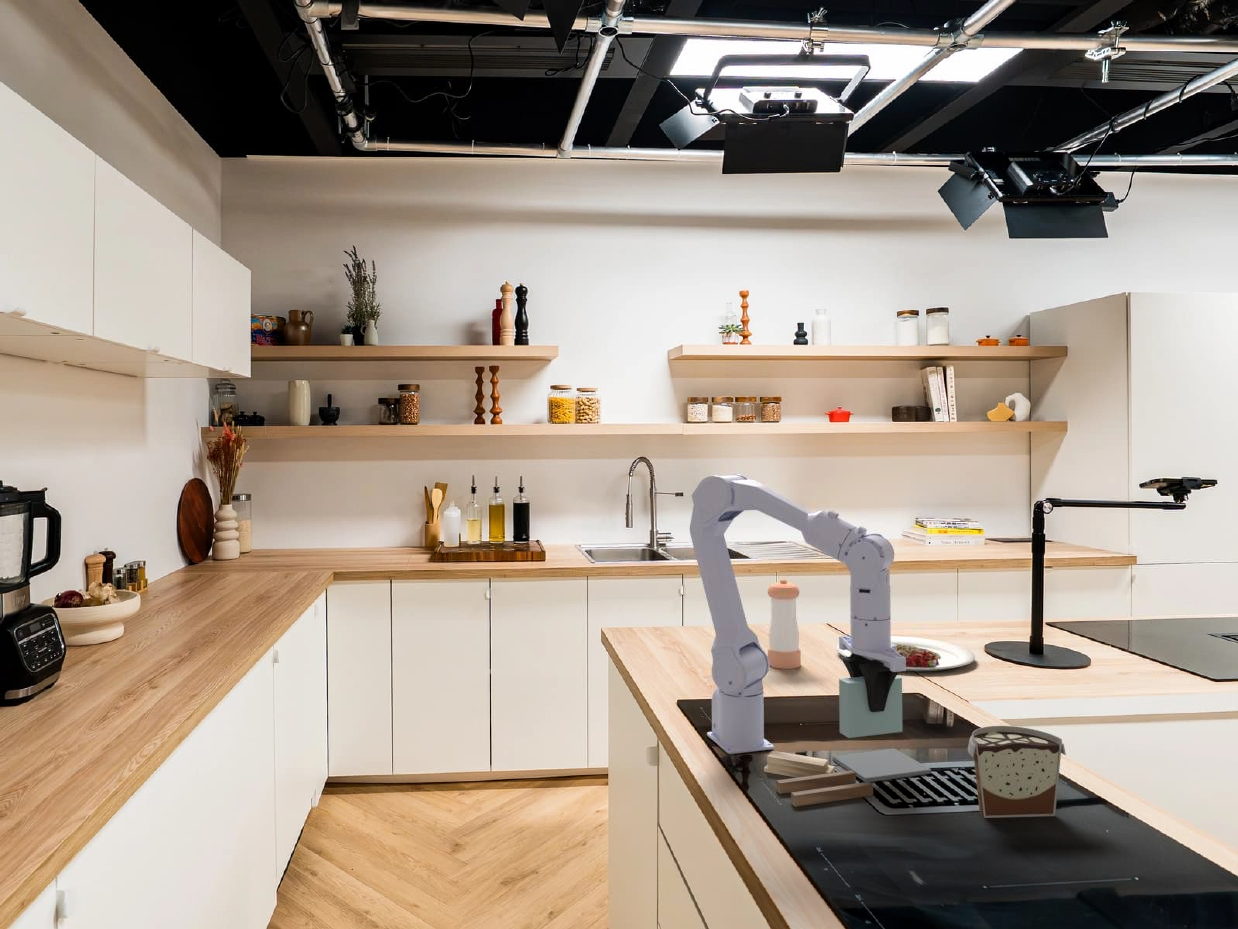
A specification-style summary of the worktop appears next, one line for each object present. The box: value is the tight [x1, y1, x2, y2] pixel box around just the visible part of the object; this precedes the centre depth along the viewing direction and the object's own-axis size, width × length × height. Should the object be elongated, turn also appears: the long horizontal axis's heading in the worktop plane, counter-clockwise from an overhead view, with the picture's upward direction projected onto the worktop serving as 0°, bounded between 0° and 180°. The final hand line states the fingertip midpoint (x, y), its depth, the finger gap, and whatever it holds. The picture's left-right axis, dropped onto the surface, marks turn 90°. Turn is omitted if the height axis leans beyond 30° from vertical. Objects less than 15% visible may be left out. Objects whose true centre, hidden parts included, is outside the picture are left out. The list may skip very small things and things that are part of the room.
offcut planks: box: [763, 750, 836, 778], centre depth 120 cm, size 3×10×3 cm, turn 62°
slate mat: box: [832, 748, 932, 783], centre depth 122 cm, size 9×11×1 cm
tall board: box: [838, 675, 903, 739], centre depth 120 cm, size 2×9×8 cm, turn 105°
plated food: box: [836, 635, 976, 672], centre depth 187 cm, size 30×30×3 cm
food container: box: [967, 725, 1067, 819], centre depth 108 cm, size 12×6×10 cm, turn 92°
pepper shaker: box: [767, 578, 802, 670], centre depth 182 cm, size 7×7×19 cm
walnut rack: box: [776, 770, 874, 807], centre depth 113 cm, size 5×12×2 cm, turn 106°
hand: (871, 708), depth 120 cm, fingers closed on tall board, 2 cm apart
